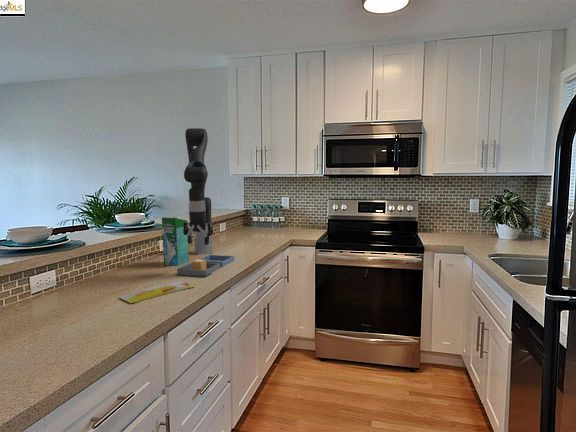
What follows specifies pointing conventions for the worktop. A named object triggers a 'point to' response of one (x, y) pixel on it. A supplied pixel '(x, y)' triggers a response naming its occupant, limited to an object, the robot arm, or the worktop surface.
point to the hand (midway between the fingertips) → (198, 244)
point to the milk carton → (174, 241)
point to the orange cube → (199, 264)
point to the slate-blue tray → (219, 259)
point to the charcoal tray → (189, 271)
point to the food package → (155, 292)
